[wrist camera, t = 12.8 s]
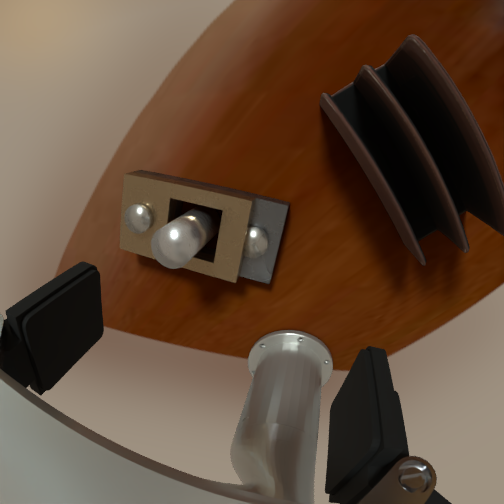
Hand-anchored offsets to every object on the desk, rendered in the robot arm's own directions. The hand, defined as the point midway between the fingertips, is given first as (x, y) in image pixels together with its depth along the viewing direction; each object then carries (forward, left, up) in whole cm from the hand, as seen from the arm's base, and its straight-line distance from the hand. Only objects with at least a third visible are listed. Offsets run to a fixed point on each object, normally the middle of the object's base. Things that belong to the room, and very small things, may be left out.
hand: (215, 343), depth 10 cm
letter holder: (+8, -11, -29) cm, 32 cm away
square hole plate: (-6, +10, -28) cm, 31 cm away
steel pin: (-6, +10, -28) cm, 31 cm away
